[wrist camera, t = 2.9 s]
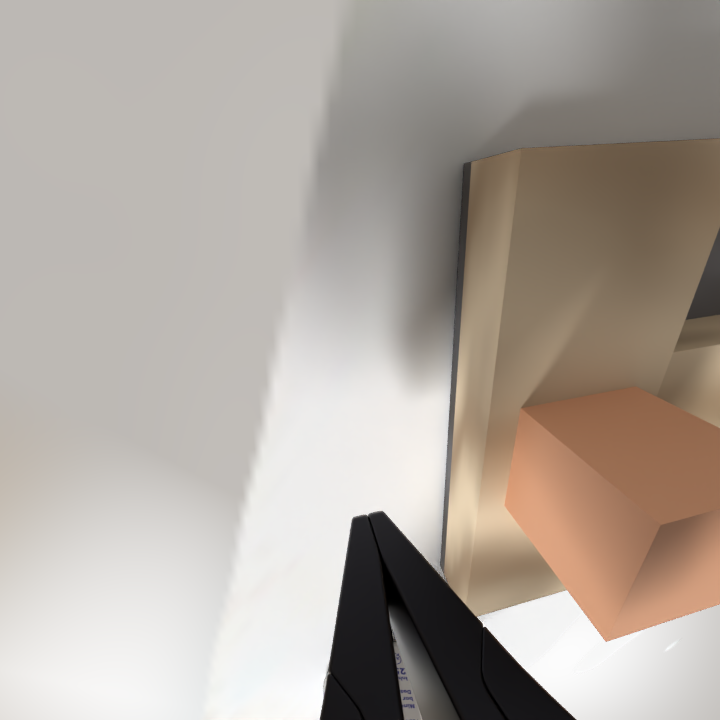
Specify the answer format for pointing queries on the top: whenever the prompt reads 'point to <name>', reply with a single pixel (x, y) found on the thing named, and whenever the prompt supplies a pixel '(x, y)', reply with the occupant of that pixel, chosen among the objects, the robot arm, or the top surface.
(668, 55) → the top surface
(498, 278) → the board
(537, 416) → the block
